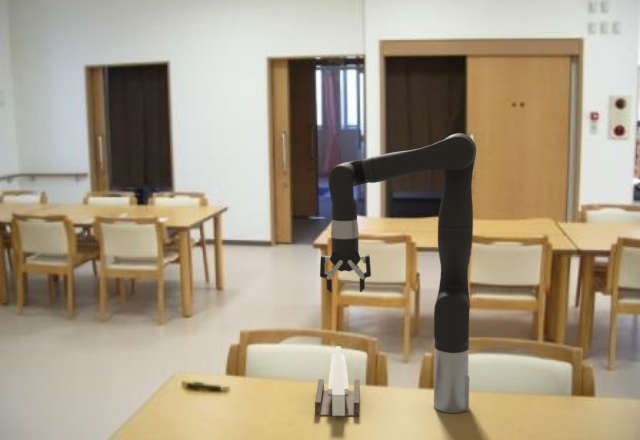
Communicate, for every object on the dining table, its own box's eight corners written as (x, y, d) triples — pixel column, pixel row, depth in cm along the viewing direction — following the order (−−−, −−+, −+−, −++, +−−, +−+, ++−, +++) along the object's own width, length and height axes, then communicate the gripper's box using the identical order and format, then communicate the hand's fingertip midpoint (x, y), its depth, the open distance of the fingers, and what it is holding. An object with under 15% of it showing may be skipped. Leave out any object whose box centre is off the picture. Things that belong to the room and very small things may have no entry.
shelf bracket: (347, 382, 217) (347, 346, 213) (349, 435, 194) (348, 396, 190) (329, 382, 218) (329, 346, 213) (328, 435, 194) (327, 396, 190)
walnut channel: (359, 392, 211) (359, 379, 210) (359, 416, 195) (359, 402, 195) (318, 391, 212) (318, 379, 211) (315, 415, 196) (314, 402, 195)
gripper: (370, 232, 204) (370, 287, 207) (319, 232, 205) (321, 288, 208) (370, 237, 197) (371, 295, 200) (318, 238, 197) (320, 295, 200)
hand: (345, 291), depth 204 cm, fingers open, 8 cm apart
